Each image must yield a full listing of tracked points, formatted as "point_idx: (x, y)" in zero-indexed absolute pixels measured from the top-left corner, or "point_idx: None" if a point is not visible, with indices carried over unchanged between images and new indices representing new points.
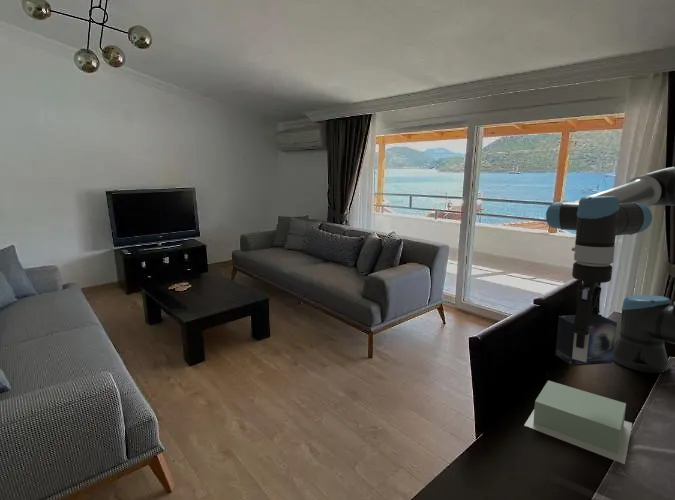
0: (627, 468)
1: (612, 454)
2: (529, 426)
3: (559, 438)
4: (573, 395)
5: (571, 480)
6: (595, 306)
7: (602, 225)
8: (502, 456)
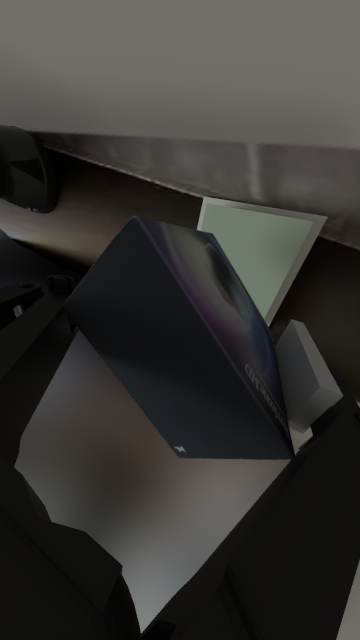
0: (324, 212)
1: None
2: None
3: (282, 298)
4: None
5: None
6: (218, 610)
7: None
8: (336, 361)
